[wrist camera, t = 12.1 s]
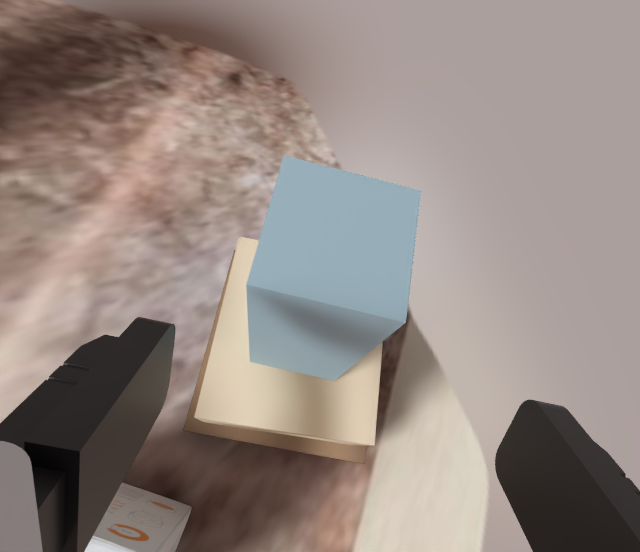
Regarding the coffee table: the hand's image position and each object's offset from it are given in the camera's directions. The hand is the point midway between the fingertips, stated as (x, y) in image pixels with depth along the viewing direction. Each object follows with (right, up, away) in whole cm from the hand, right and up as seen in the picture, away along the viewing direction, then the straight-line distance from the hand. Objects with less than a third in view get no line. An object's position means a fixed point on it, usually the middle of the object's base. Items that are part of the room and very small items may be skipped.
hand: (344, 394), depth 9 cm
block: (-2, 0, +13) cm, 13 cm away
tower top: (-2, -2, +17) cm, 18 cm away
